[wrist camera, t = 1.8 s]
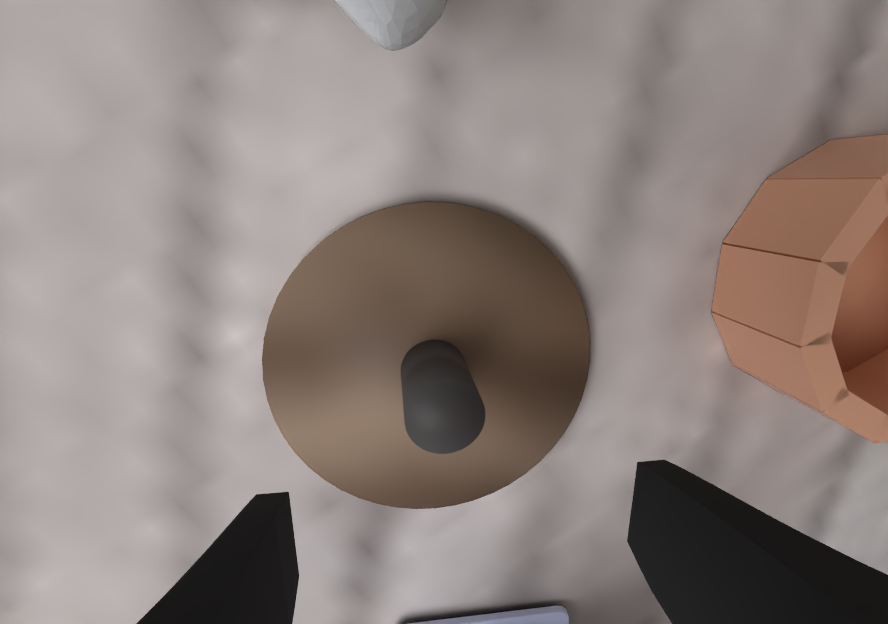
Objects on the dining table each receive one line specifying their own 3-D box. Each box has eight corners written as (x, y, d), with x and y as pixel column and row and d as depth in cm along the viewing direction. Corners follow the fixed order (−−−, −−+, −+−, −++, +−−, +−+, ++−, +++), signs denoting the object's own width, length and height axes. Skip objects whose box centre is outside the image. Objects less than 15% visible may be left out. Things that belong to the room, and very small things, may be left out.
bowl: (908, 382, 20) (1031, 429, 16) (697, 396, 19) (776, 451, 15) (981, 139, 17) (1151, 127, 13) (738, 139, 16) (848, 126, 12)
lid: (570, 482, 20) (619, 561, 16) (285, 508, 18) (257, 602, 14) (593, 199, 16) (662, 204, 12) (248, 203, 15) (196, 212, 11)
